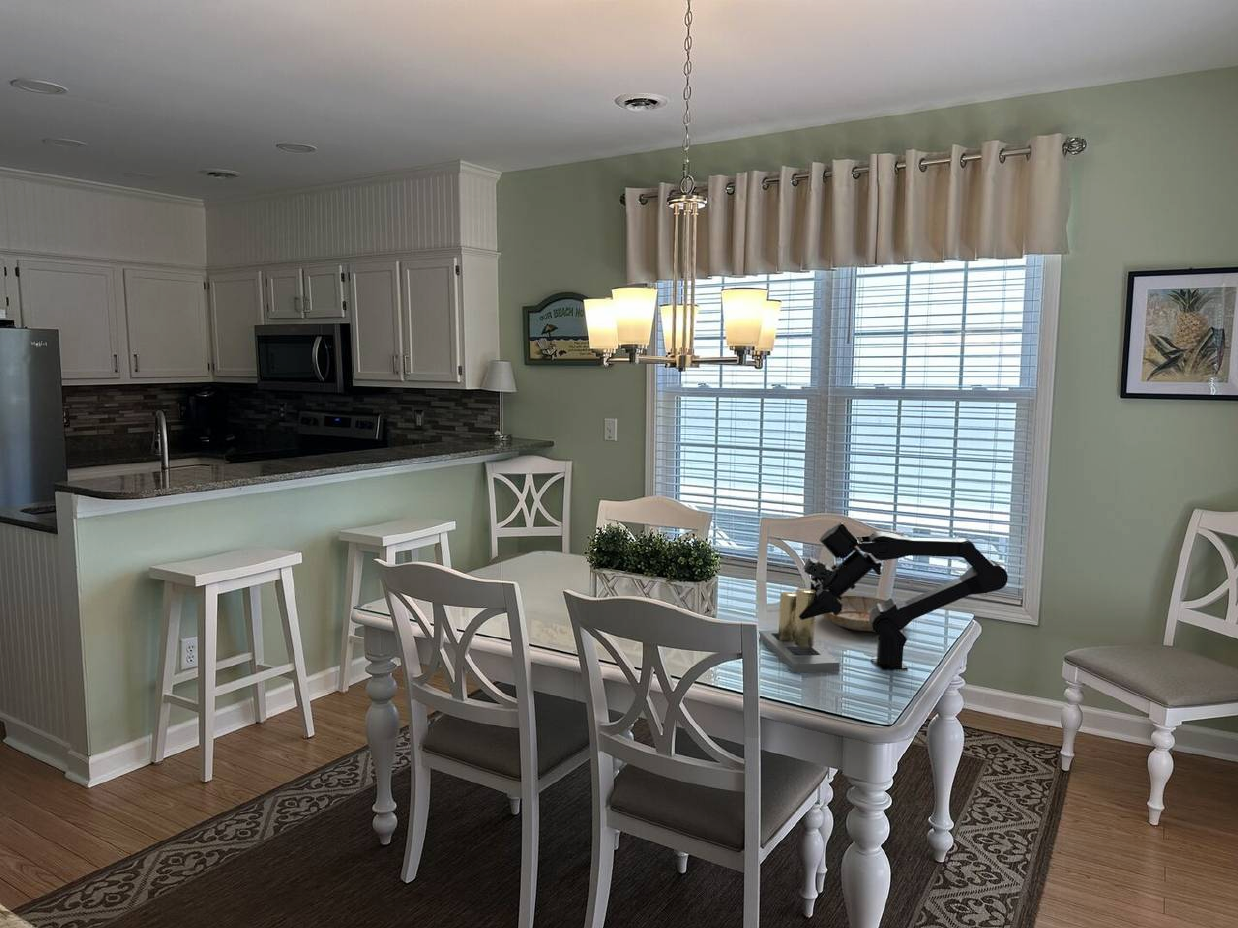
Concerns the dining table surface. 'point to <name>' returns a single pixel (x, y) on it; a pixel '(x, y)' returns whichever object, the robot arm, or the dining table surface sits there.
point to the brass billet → (806, 626)
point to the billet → (787, 617)
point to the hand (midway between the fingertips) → (799, 615)
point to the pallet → (798, 664)
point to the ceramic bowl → (855, 612)
